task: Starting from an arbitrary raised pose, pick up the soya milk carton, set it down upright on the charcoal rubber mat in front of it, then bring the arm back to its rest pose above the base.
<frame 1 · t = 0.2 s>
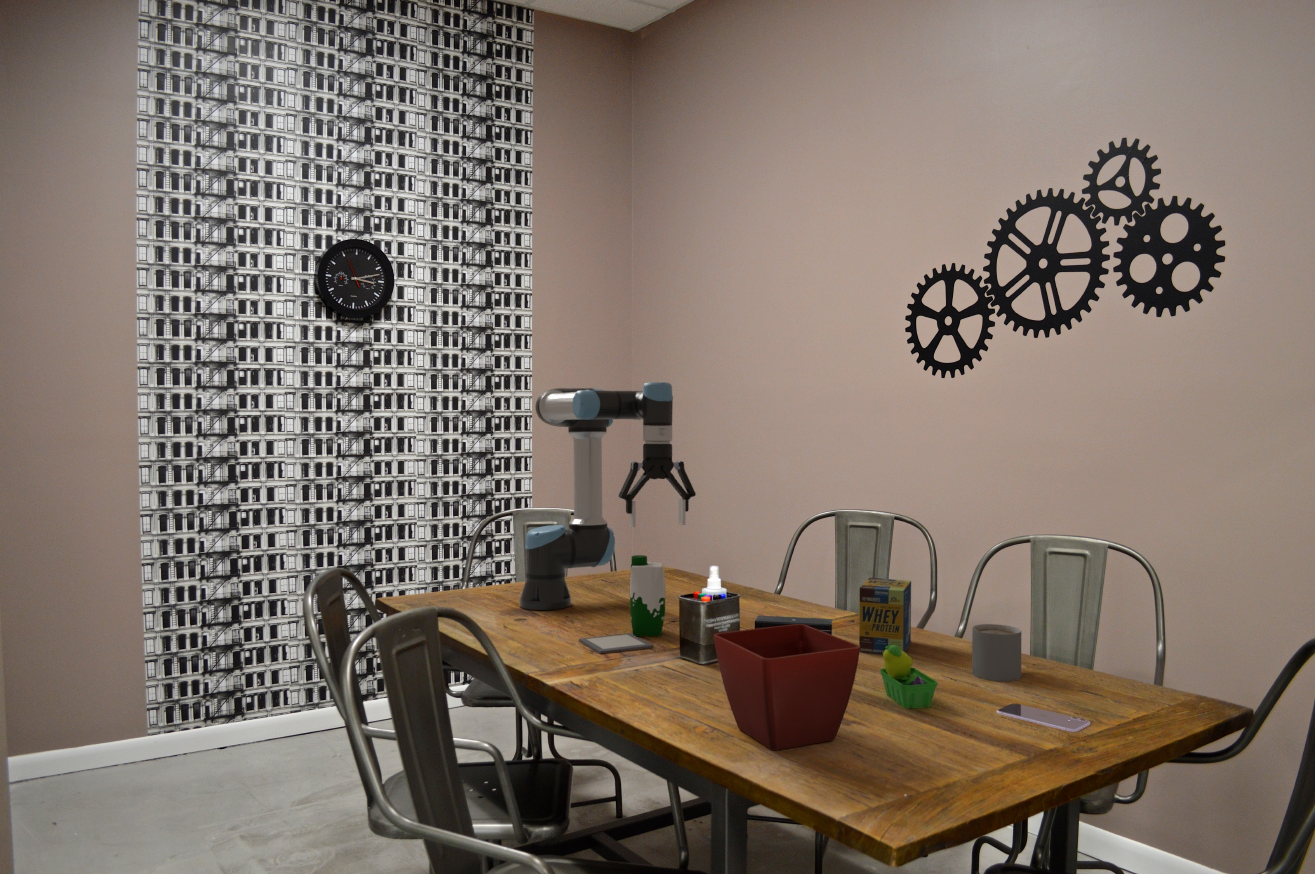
hand: (657, 525, 237), 28 cm above the table, tool pointing down, fingers open, 13 cm apart
coffee mug: (1002, 674, 200), on the table
fruit basket: (905, 702, 181), on the table
soya milk: (647, 634, 238), on the table
plant pot: (784, 736, 161), on the table
mobile phone: (1042, 720, 171), on the table
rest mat: (615, 644, 227), on the table
protein box: (885, 647, 224), on the table
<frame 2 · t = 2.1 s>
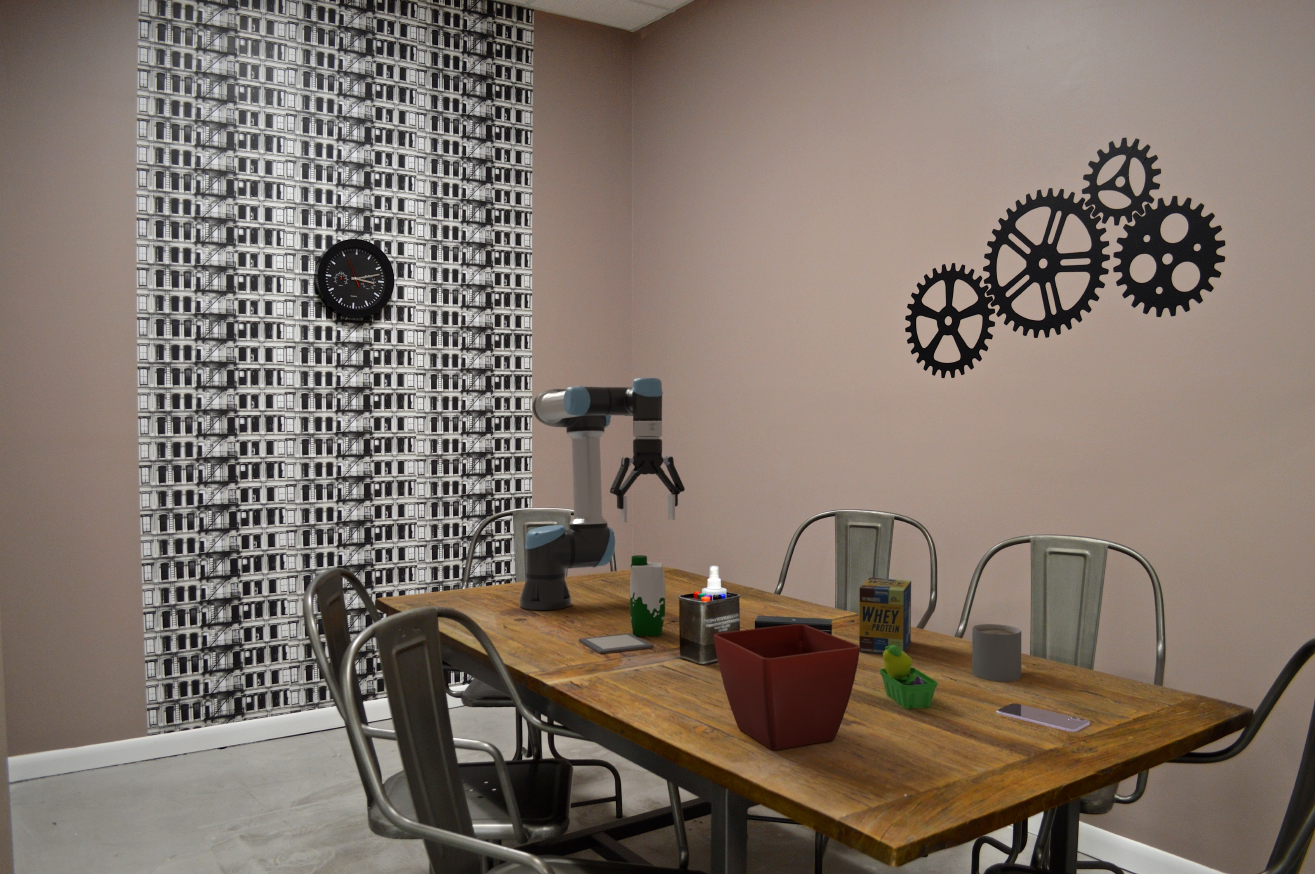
hand: (647, 520, 238), 29 cm above the table, tool pointing down, fingers open, 13 cm apart
nothing on the table moved.
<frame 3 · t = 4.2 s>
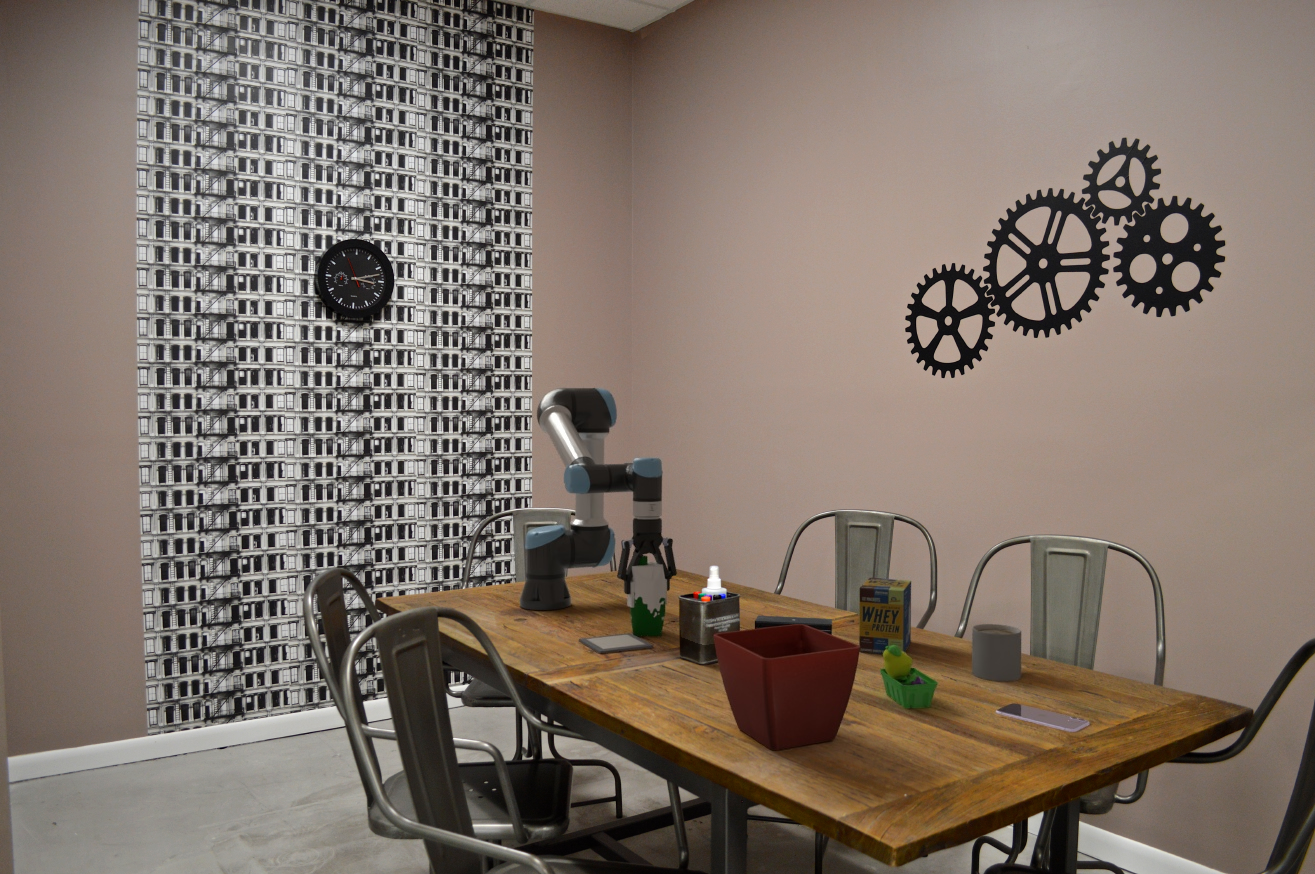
hand: (647, 604, 238), 7 cm above the table, tool pointing down, fingers open, 9 cm apart
soya milk: (647, 634, 238), on the table, touching gripper
everything else where it was.
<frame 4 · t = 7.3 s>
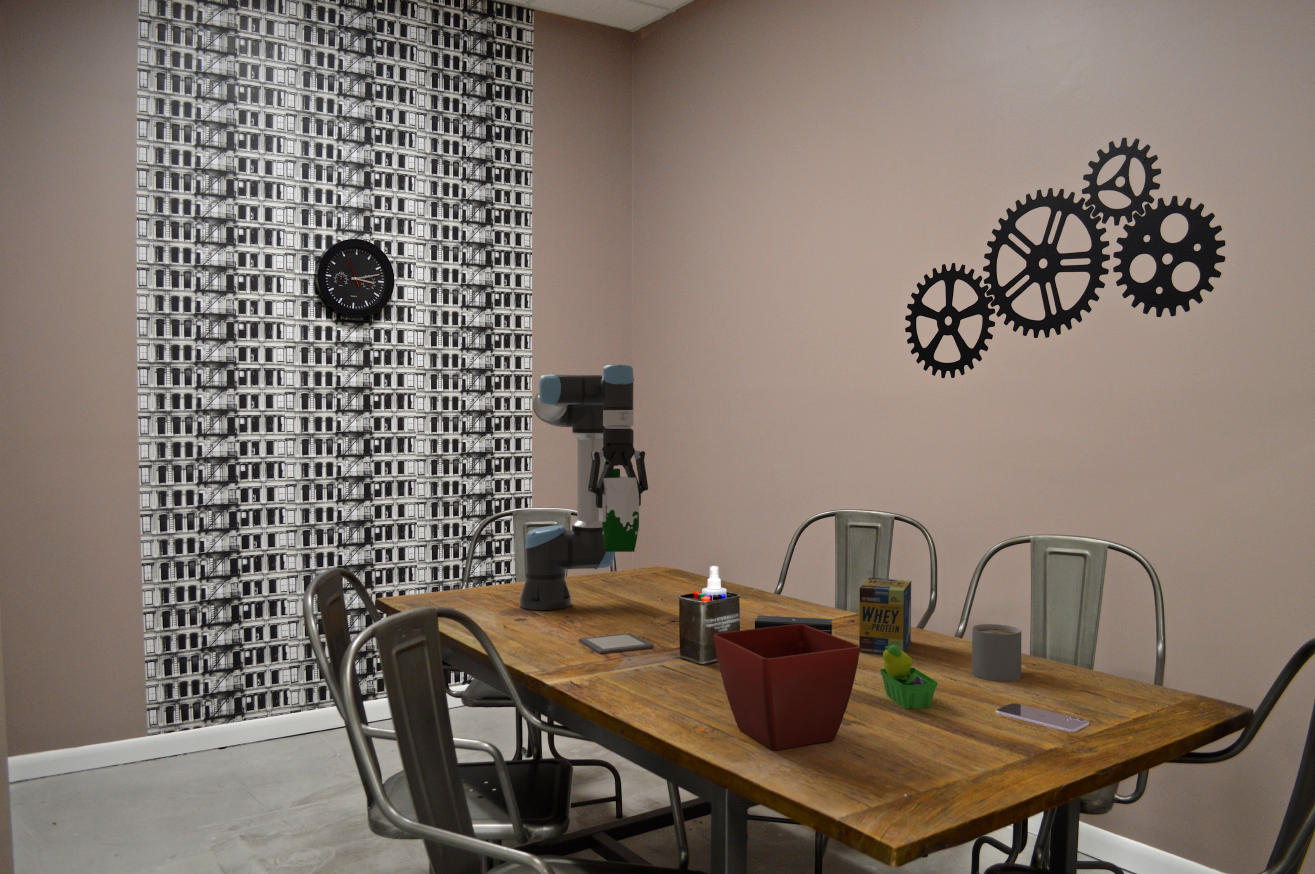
hand: (618, 520, 227), 30 cm above the table, tool pointing down, fingers closed on soya milk, 8 cm apart
soya milk: (620, 550, 228), point 23 cm above the table, touching gripper
everything else where it was.
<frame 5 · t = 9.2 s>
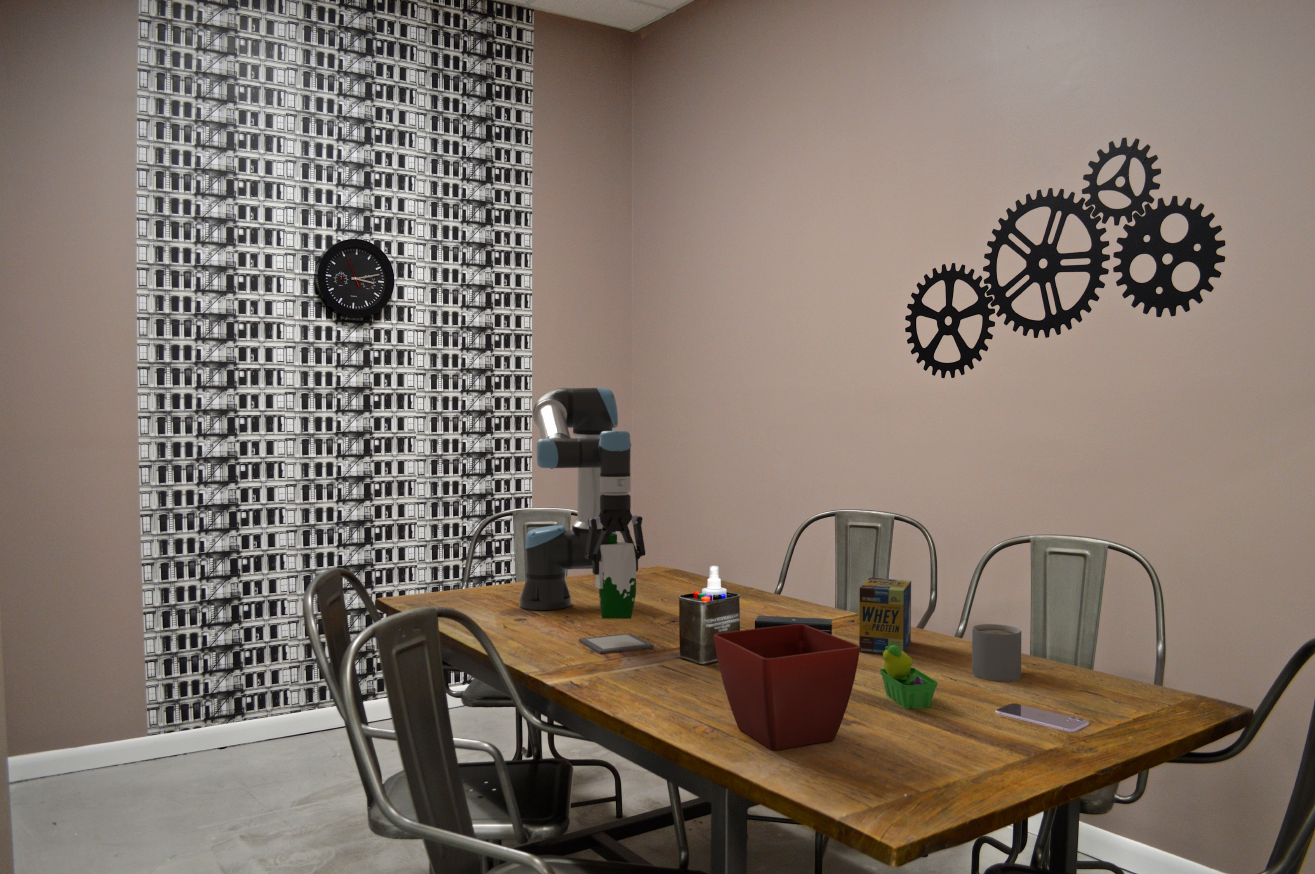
hand: (615, 586, 226), 14 cm above the table, tool pointing down, fingers closed on soya milk, 8 cm apart
soya milk: (617, 616, 227), point 7 cm above the table, touching gripper
everything else where it was.
when the fingers open (9 cm above the table, at t = 10.4 s): soya milk stays where it is, resting on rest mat.
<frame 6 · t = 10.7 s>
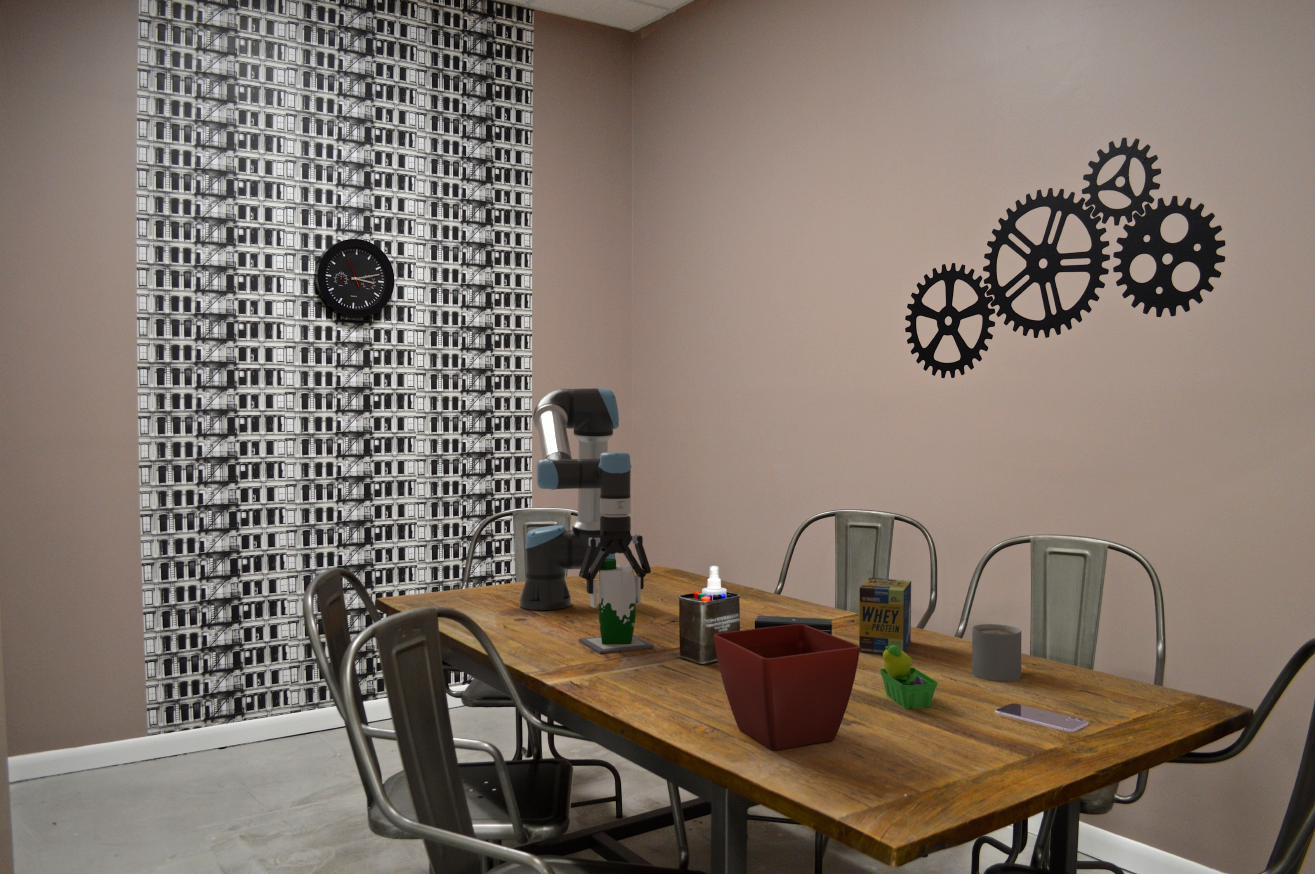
hand: (615, 604, 227), 10 cm above the table, tool pointing down, fingers open, 11 cm apart
soya milk: (617, 641, 227), point 1 cm above the table, touching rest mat
everything else where it was.
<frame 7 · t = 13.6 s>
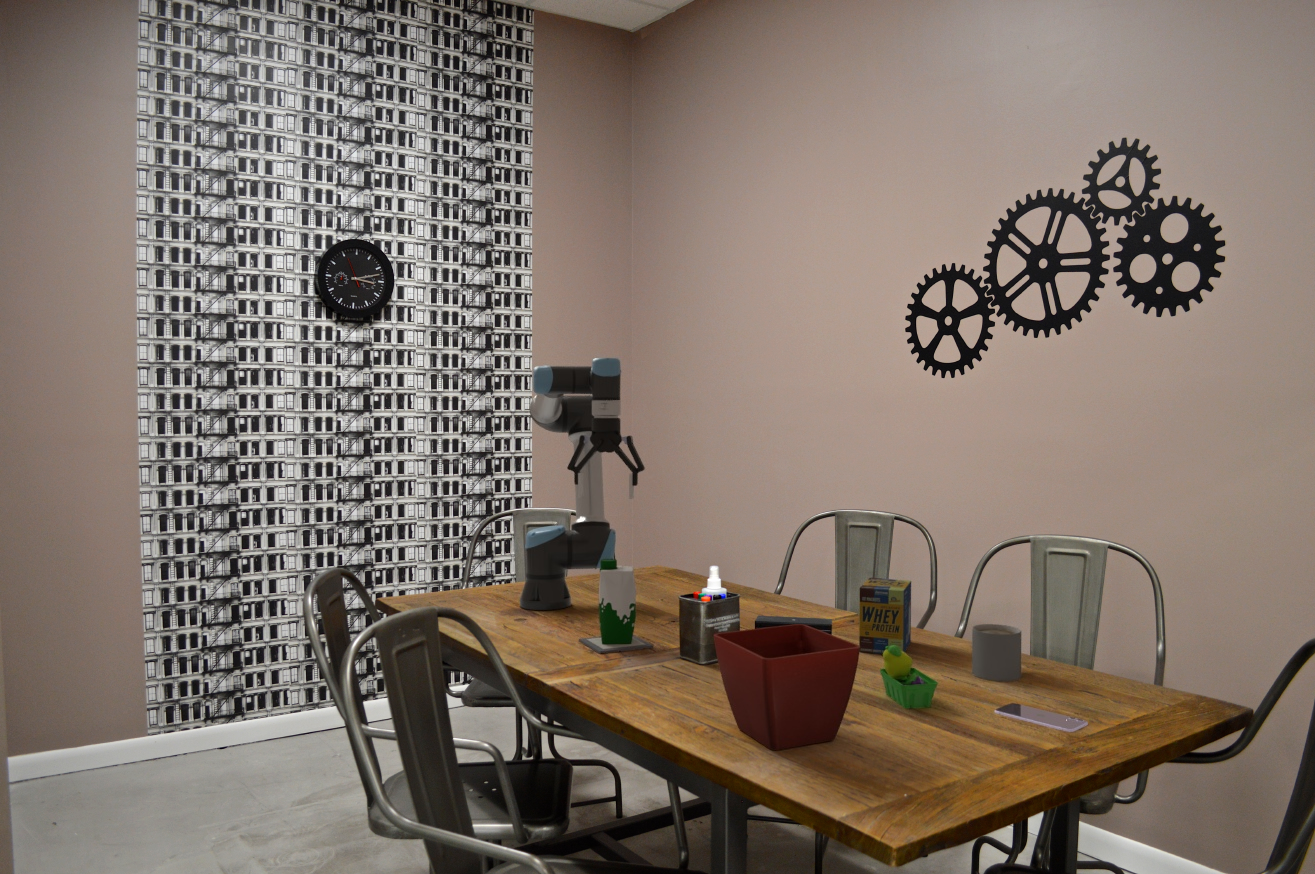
hand: (605, 497, 243), 35 cm above the table, tool pointing down, fingers open, 13 cm apart
nothing on the table moved.
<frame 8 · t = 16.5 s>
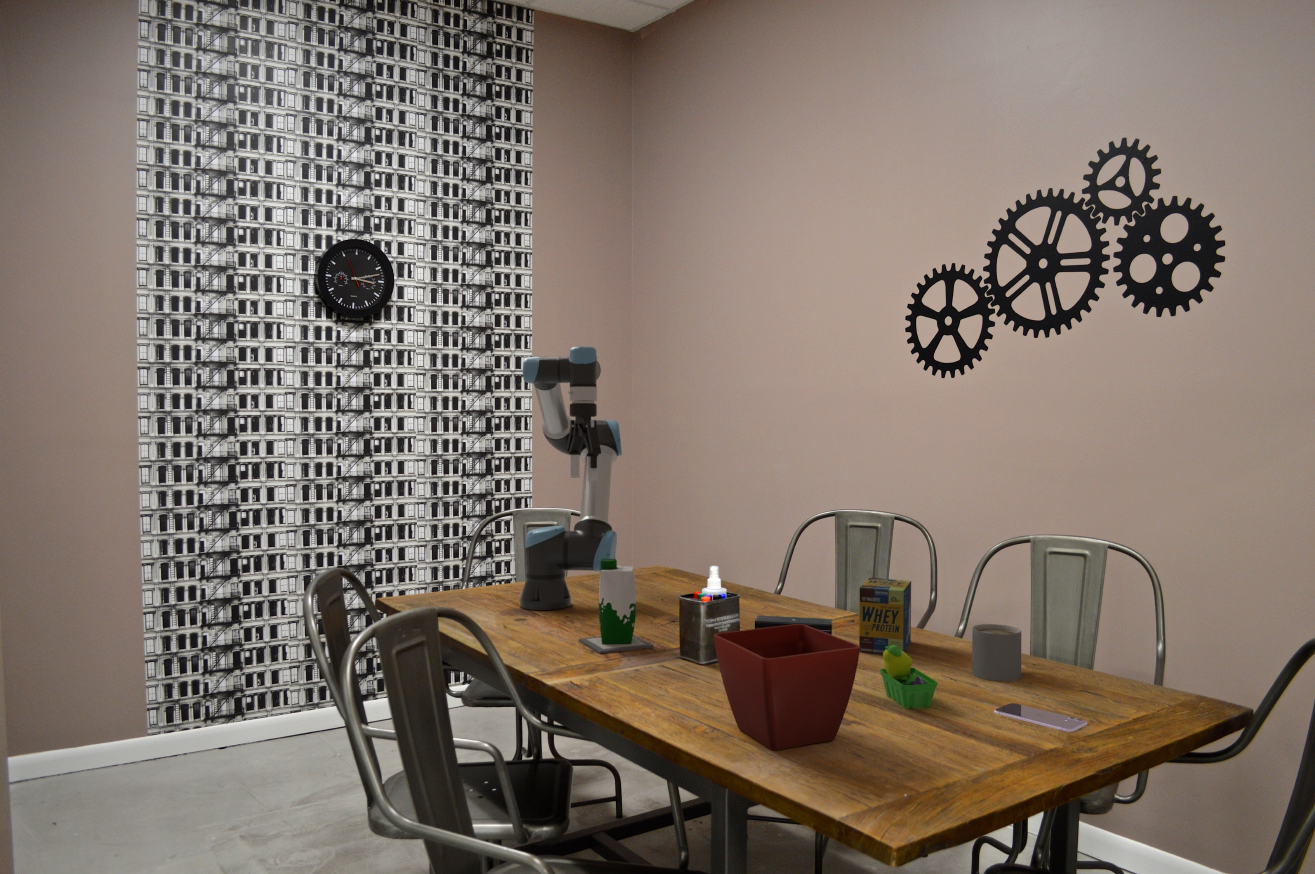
hand: (583, 479, 257), 39 cm above the table, tool pointing down, fingers open, 13 cm apart
nothing on the table moved.
at the end: soya milk inside the target area on the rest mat (0.8 cm from its centre), point 0.5 cm above the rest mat's base; soya milk tilted 0°; the gripper is holding nothing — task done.
